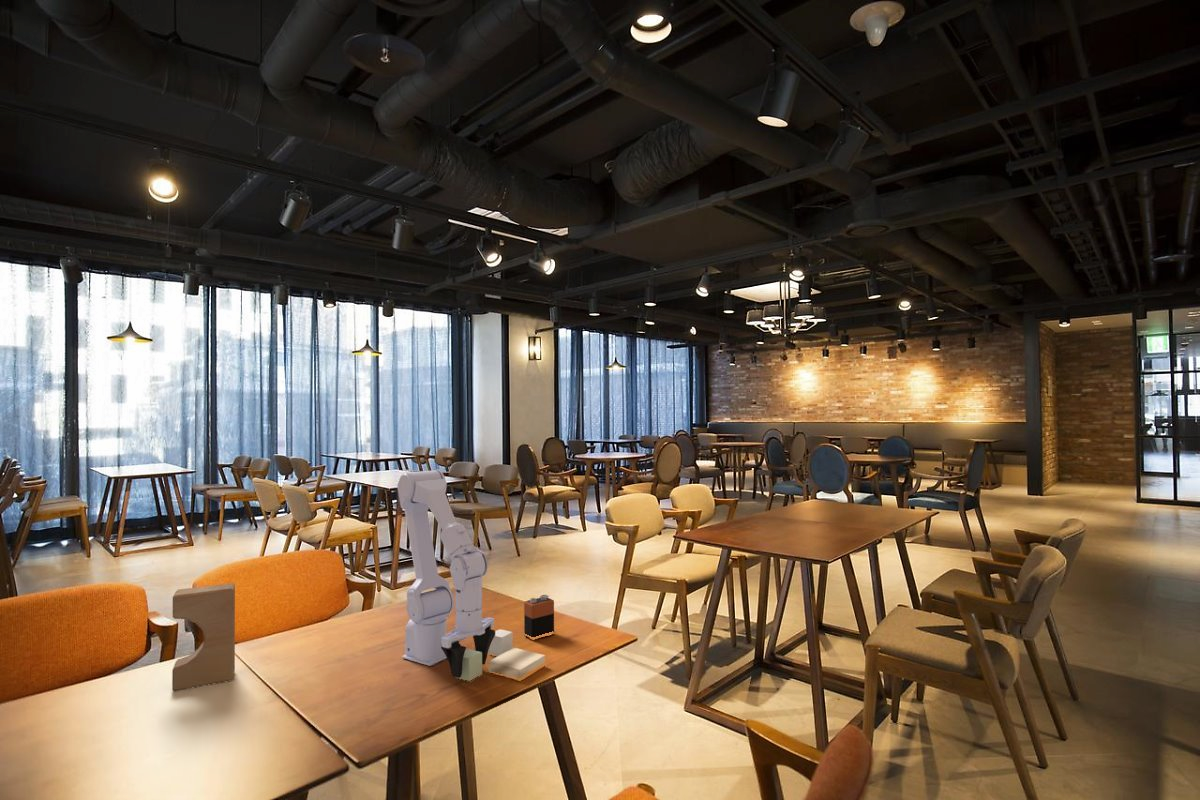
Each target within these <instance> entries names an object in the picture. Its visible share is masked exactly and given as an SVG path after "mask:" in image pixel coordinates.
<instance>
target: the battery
mask: <svg viewBox="0 0 1200 800" xmlns="http://www.w3.org/2000/svg"><path fill="white" fill-rule="evenodd" d="M549 596H550V595H547V594H541V595H540V596H539V597H537V598H535V597H532V598H530V599H529V600H526V601H524V603H523V604H524V606H523V607H524V608H523V609H524V613H523V614H524V615H523V616H524V617H523V619H524V621H523V622H524V624H523V625H524V627H523V628H524V630H523V631H524V633H525V634H527V635H529V636H531V637H536V636H539V635H542V634H545V633H549V632H552V631H554V632H555V600H554V599H552V598H549Z"/></svg>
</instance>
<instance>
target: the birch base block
mask: <svg viewBox="0 0 1200 800" xmlns="http://www.w3.org/2000/svg"><path fill="white" fill-rule="evenodd" d="M544 662H545V663H546V654H541V653H538V652H532V651H529V650H526V649H521V648H517V647H513V648H512V649H510V650H509V651H507V652H505V653H503V654H501V655H499V656H497V657H494V658H492V659H490V660H488V671H490V672H495V673H499V674H503V675H507V676H511V677H517V678H521V677H522V676H524V675H526V674H527V673H529V672H530V671H532V670H533V669H535V668H537V667H538V666H540V665H541V664H543V663H544Z"/></svg>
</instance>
